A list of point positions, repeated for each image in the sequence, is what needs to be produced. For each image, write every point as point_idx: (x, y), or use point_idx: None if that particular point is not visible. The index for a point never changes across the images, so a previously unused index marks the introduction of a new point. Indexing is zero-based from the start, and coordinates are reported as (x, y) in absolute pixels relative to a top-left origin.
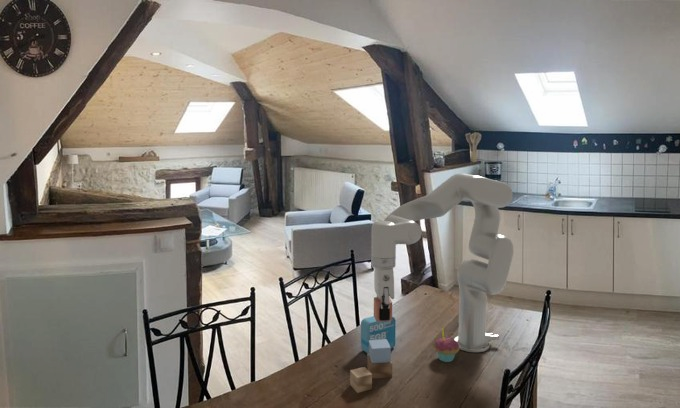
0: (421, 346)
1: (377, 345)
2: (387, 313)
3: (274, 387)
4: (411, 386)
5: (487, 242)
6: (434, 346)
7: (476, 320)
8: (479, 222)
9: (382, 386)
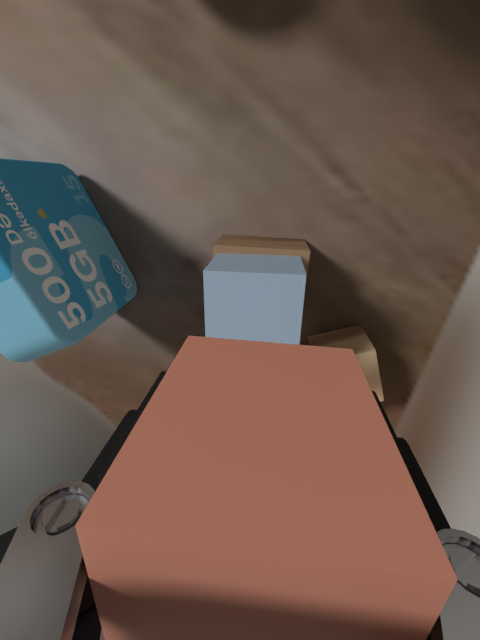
0: (50, 16)
1: (268, 333)
2: (425, 483)
3: None
4: (390, 180)
5: None
6: None
7: None
8: None
9: (355, 288)
